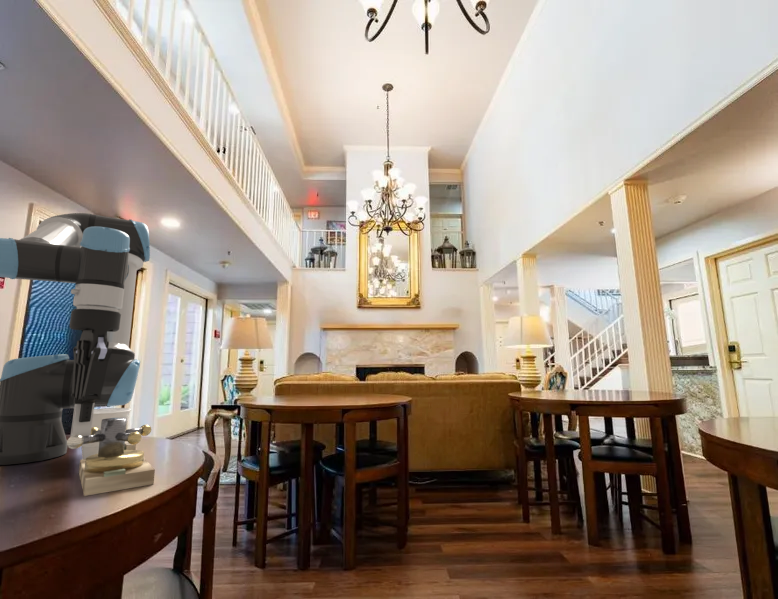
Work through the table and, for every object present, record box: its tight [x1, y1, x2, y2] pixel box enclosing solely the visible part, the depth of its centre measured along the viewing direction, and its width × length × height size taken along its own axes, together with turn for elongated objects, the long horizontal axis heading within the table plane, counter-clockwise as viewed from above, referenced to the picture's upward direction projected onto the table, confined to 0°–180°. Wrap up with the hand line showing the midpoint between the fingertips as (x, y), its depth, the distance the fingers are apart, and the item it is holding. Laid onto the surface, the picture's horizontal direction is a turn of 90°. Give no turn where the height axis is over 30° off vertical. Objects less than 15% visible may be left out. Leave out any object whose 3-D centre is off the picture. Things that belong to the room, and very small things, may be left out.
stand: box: [78, 441, 156, 497], centre depth 76 cm, size 18×10×5 cm, turn 40°
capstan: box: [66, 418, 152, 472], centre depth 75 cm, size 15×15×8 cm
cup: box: [80, 407, 132, 459], centre depth 89 cm, size 10×10×11 cm
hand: (80, 440), depth 72 cm, fingers closed
